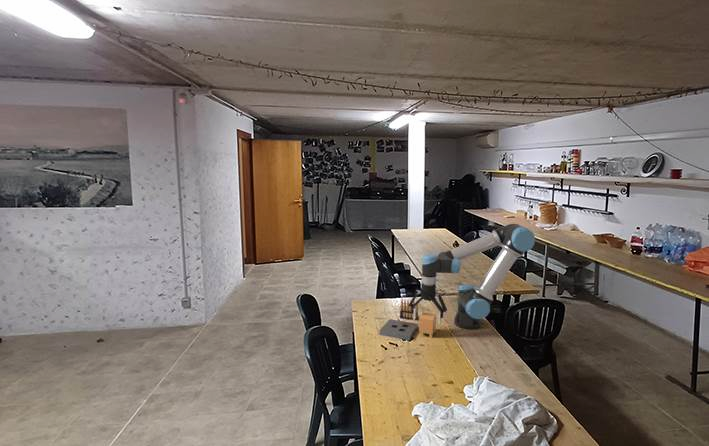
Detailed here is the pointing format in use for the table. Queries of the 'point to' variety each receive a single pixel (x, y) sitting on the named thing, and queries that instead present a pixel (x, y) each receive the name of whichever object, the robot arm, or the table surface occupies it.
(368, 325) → the table surface
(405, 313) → the ammunition clip
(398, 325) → the socket plate
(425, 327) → the cardboard-colored brick
